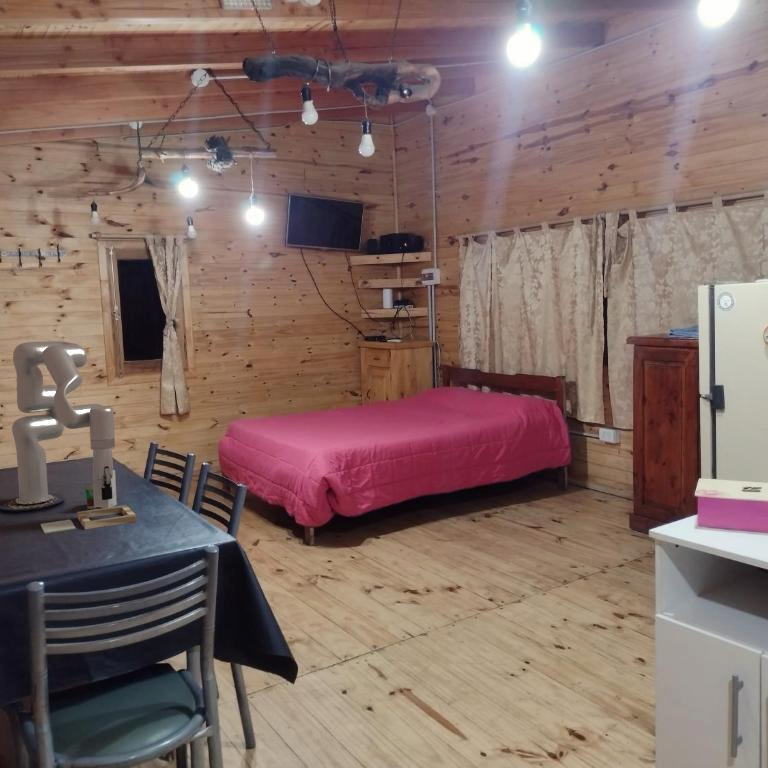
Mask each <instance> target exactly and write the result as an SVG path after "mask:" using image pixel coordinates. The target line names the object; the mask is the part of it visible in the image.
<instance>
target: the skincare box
mask: <svg viewBox="0 0 768 768" xmlns="http://www.w3.org/2000/svg"><path fill="white" fill-rule="evenodd" d="M110 476H111V475H110ZM103 478H106V476H105V477H103ZM104 482H105V481H104ZM92 483H93V493H94V507H102V508H110V507H116V506H117V505H118V503H117V487H116V486H117V485H116V470H115V469H113V478H112V479H111V484H112V499H107V500H102V489H101V488H102V480H101V479H100V480H97V479H96V478H95V472H94V471H93V470H92Z"/></svg>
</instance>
